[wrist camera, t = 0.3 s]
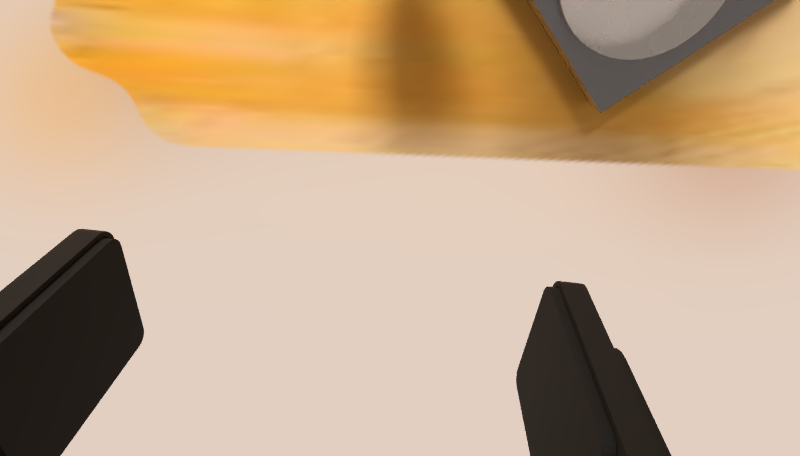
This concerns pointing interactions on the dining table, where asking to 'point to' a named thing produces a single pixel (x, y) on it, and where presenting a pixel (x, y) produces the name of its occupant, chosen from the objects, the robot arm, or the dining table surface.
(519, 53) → the dining table surface
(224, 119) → the dining table surface
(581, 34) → the dial scale
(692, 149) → the dining table surface
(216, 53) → the dining table surface
